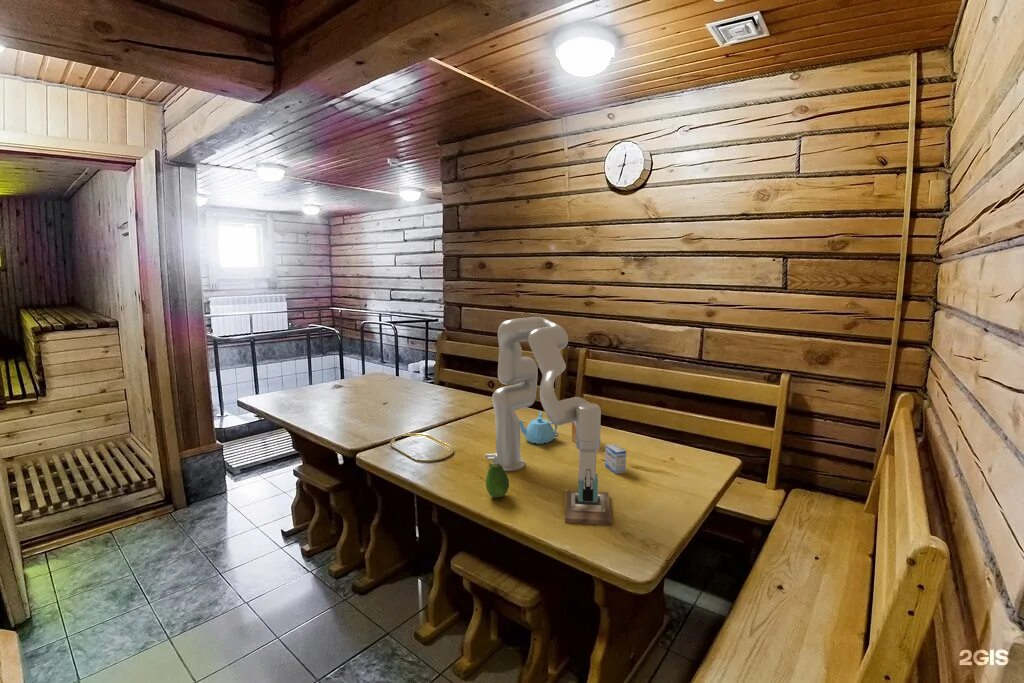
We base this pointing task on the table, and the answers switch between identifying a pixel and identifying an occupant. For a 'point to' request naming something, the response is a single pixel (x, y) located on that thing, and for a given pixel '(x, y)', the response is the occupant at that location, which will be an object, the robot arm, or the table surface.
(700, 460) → the table surface
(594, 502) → the plug
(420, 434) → the serving platter
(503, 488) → the avocado
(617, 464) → the medicine box
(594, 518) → the socket block
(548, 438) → the teapot
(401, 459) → the table surface
